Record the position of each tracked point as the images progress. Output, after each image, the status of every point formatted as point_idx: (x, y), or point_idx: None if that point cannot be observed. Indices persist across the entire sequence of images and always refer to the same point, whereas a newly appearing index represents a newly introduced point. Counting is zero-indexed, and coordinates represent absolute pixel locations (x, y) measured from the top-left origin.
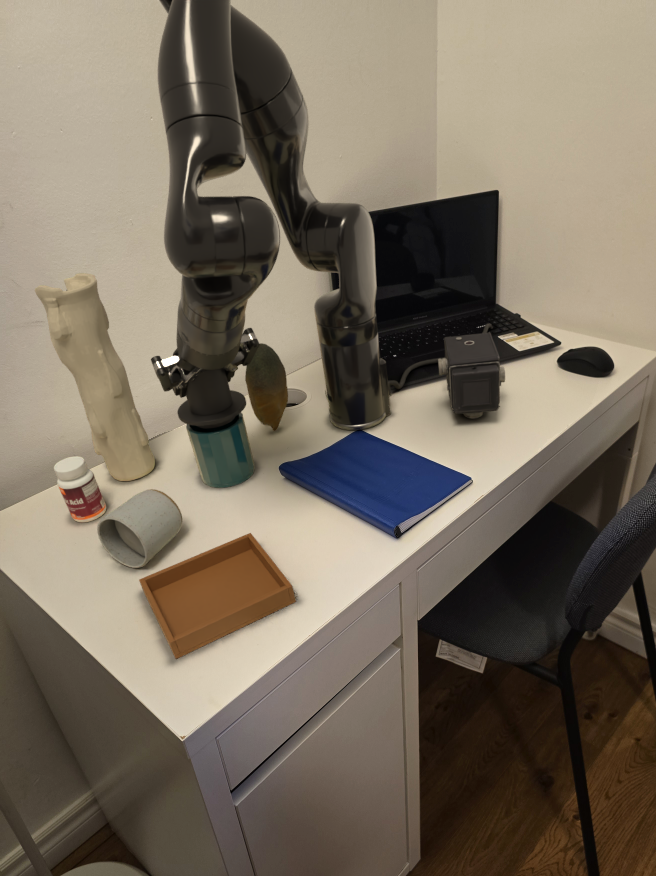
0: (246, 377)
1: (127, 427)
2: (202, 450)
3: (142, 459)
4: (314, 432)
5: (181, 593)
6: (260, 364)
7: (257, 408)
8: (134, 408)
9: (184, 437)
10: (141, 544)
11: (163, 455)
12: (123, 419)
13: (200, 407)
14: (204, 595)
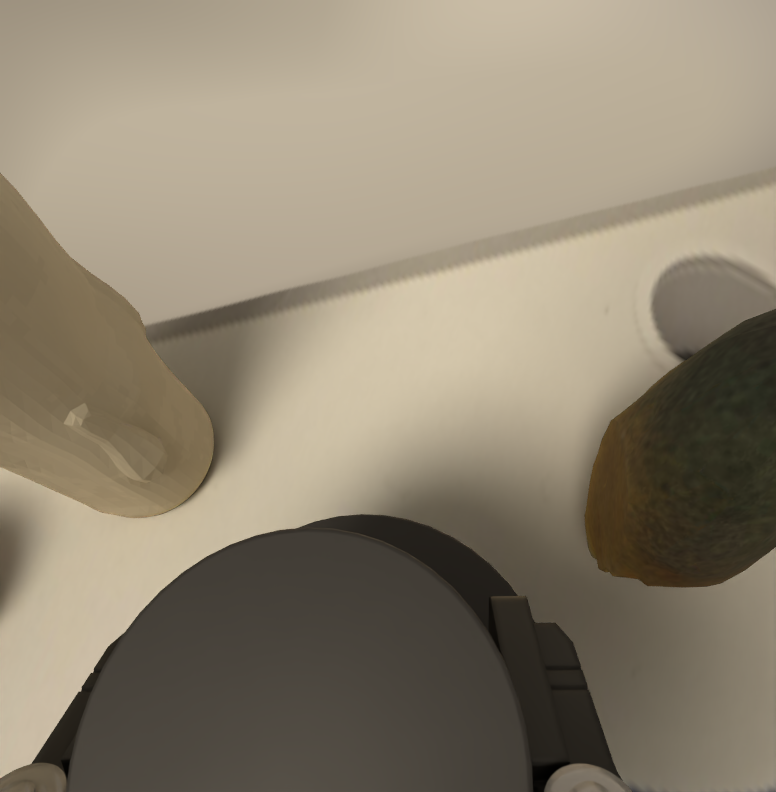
0: (641, 487)
1: (55, 457)
2: None
3: (143, 498)
4: (765, 626)
5: None
6: (772, 501)
7: (607, 570)
8: (88, 398)
9: (348, 359)
10: None
11: (256, 424)
12: (24, 445)
13: None
14: None
